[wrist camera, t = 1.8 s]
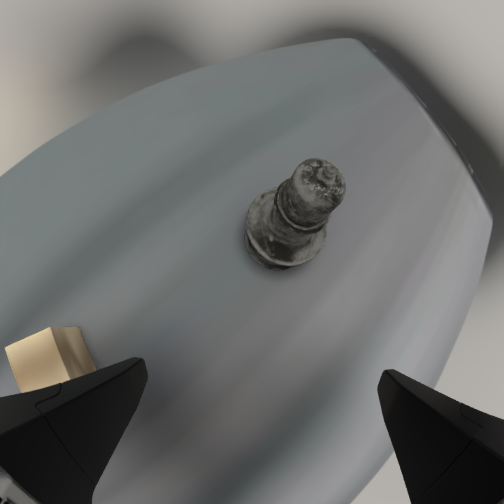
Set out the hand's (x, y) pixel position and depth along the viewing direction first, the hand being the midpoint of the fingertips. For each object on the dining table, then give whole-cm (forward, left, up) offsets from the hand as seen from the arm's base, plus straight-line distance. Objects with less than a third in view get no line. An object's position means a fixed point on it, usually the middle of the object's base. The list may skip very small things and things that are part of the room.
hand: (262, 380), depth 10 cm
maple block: (0, +14, -12) cm, 19 cm away
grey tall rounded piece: (+8, -5, -13) cm, 16 cm away
